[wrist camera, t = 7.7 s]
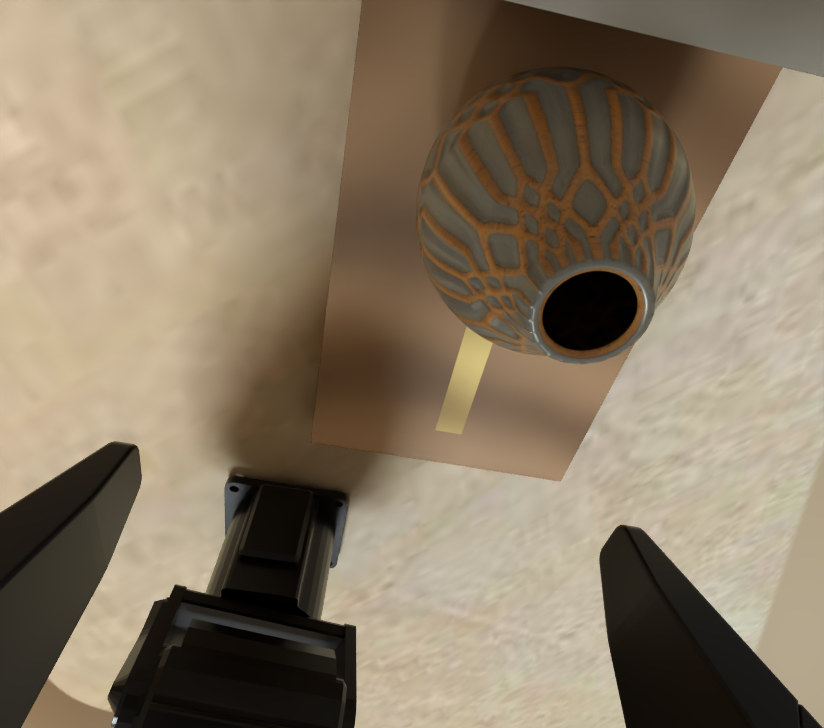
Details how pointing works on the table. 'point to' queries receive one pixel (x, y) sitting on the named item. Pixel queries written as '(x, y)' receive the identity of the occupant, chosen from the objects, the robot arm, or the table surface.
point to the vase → (556, 213)
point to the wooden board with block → (398, 187)
